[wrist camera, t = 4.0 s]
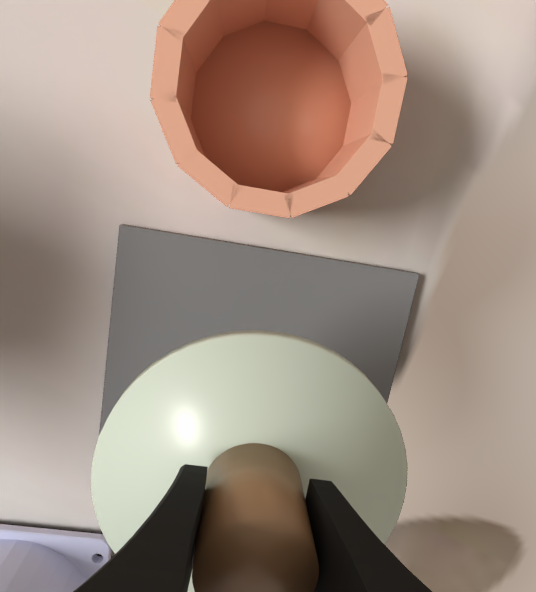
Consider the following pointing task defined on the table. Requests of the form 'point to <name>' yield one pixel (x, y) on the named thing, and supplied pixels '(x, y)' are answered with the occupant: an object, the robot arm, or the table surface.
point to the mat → (247, 303)
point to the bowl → (278, 97)
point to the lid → (250, 454)
